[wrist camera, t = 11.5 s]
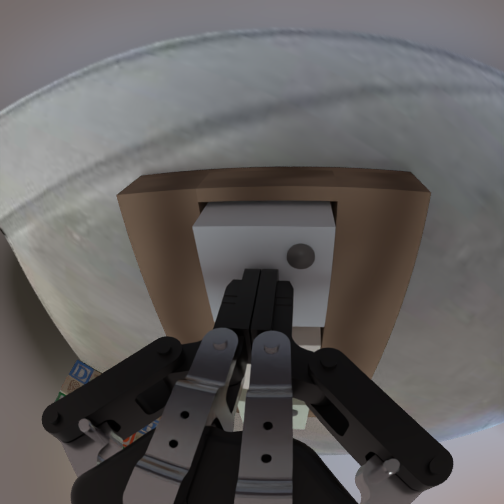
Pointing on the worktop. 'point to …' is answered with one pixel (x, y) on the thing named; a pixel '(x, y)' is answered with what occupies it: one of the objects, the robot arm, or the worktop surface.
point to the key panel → (285, 189)
